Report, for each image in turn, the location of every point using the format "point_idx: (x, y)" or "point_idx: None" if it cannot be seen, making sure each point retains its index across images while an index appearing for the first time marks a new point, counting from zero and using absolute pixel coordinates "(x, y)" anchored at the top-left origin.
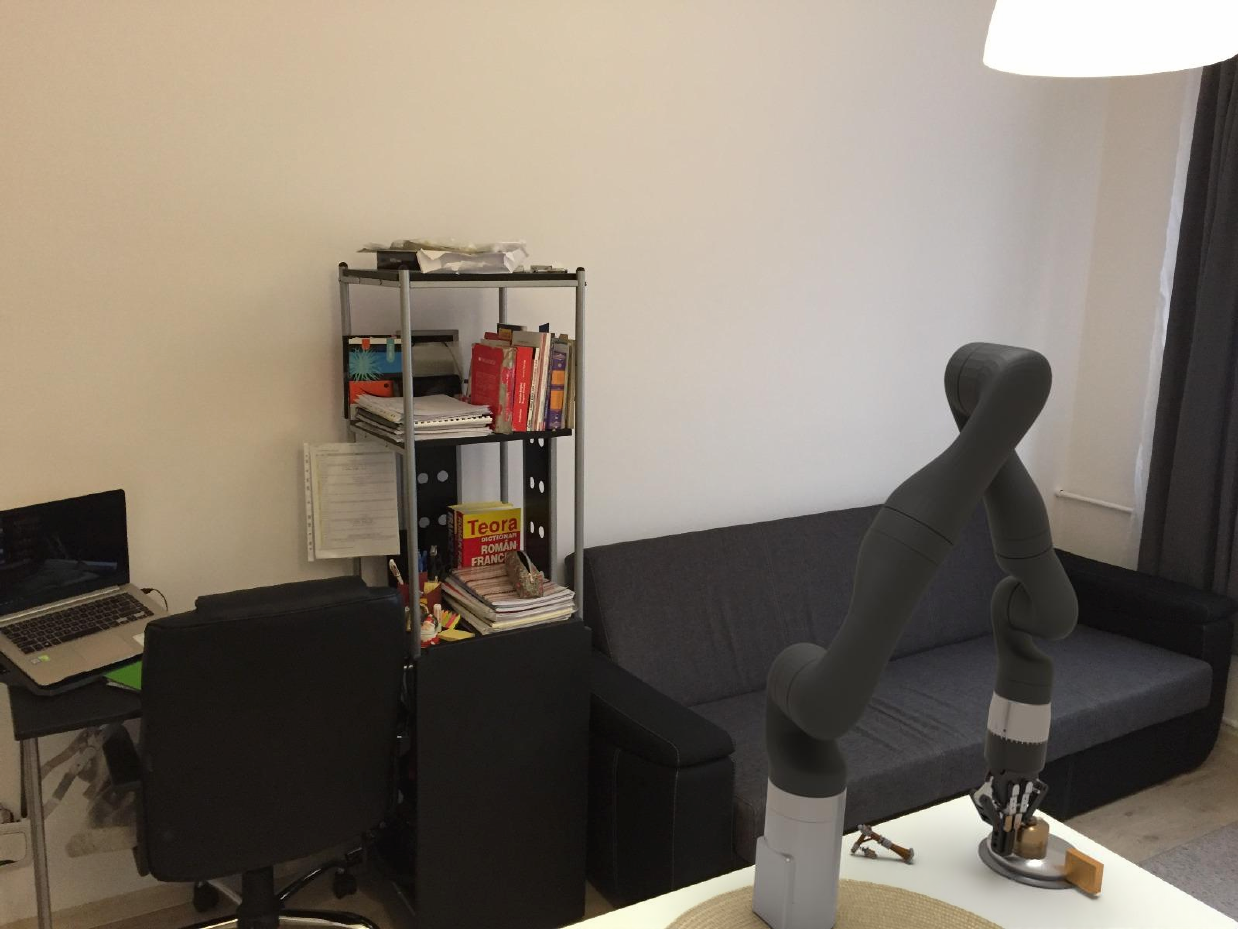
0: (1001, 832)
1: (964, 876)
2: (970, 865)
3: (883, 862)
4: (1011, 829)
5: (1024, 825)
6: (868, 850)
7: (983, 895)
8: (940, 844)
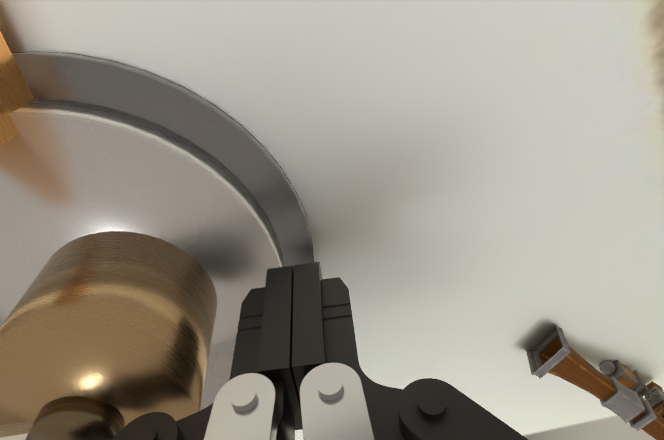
0: (354, 366)
1: (447, 240)
2: (369, 289)
3: (609, 343)
4: (273, 380)
5: (137, 405)
6: (643, 384)
7: (491, 117)
8: None
